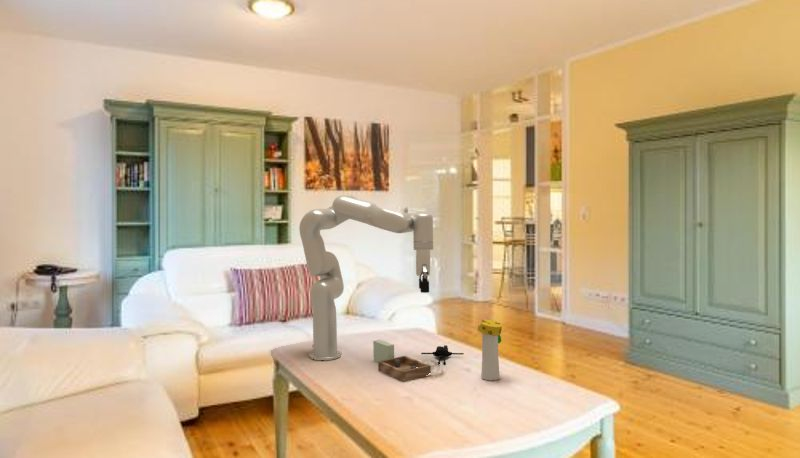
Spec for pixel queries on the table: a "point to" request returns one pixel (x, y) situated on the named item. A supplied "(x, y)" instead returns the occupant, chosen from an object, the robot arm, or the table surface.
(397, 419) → the table surface
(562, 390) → the table surface
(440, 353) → the toy
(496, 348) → the toy
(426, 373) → the brown wooden shallow tray
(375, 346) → the light green rectangular block
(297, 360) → the table surface
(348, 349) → the table surface
